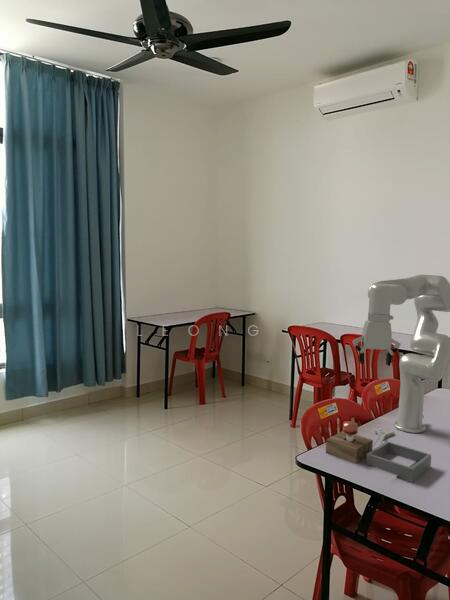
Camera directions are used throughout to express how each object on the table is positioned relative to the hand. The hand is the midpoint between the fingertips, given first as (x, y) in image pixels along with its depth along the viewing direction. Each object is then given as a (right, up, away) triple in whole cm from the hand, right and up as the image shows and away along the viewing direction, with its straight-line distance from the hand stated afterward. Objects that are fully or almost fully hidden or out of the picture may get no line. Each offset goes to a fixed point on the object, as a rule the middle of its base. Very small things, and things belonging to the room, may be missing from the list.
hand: (374, 364), depth 177 cm
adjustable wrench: (+5, -32, +11) cm, 35 cm away
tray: (+5, -34, -11) cm, 36 cm away
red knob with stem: (-10, -32, -3) cm, 34 cm away
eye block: (-10, -33, -3) cm, 34 cm away
